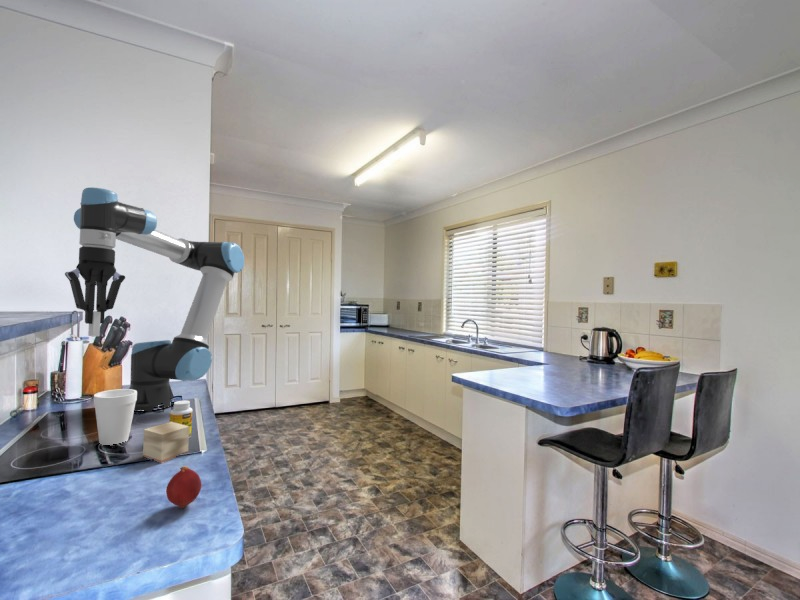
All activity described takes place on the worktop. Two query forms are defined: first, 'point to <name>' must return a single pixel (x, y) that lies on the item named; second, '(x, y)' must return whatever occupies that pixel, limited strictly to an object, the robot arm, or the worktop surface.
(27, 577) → the worktop surface
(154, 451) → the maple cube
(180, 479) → the onion
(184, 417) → the supplement bottle
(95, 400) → the foam cup
